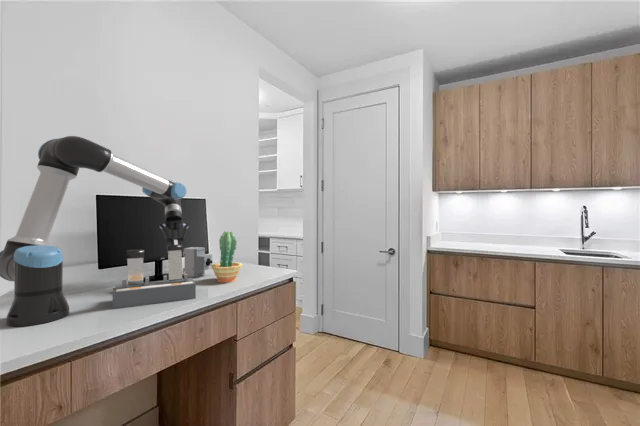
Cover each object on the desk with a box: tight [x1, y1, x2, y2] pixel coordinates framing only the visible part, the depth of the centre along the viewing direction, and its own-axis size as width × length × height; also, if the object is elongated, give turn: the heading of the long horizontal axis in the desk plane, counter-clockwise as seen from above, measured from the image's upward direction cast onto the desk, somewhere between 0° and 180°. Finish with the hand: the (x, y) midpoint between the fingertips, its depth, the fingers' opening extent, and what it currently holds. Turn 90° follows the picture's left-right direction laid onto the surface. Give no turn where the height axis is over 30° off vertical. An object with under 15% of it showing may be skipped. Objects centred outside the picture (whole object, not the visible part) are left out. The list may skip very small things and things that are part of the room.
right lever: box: [166, 243, 183, 281], centre depth 128 cm, size 6×3×15 cm, turn 119°
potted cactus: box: [211, 230, 244, 283], centre depth 155 cm, size 15×15×25 cm
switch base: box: [112, 273, 197, 310], centre depth 122 cm, size 28×12×9 cm, turn 119°
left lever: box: [125, 249, 145, 286], centre depth 115 cm, size 6×3×15 cm, turn 119°
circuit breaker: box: [182, 246, 214, 278], centre depth 165 cm, size 8×14×15 cm, turn 78°
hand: (176, 252), depth 137 cm, fingers closed
